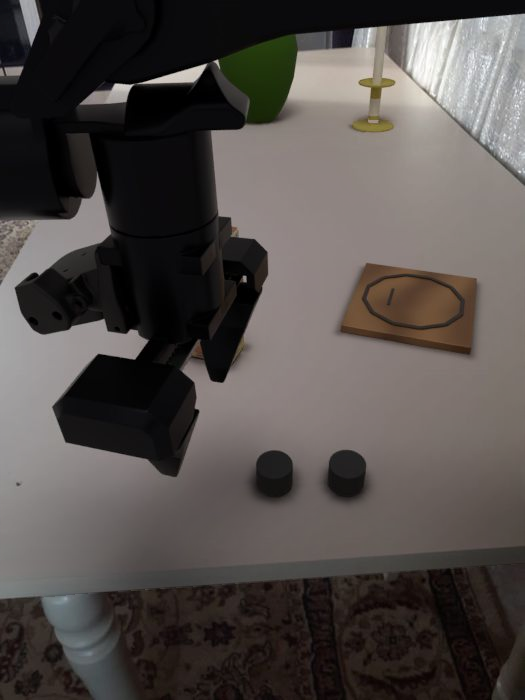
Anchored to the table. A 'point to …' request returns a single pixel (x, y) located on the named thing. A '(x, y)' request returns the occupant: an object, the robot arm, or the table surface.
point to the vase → (263, 75)
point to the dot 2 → (346, 472)
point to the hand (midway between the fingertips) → (196, 423)
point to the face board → (413, 307)
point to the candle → (376, 88)
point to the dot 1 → (274, 473)
